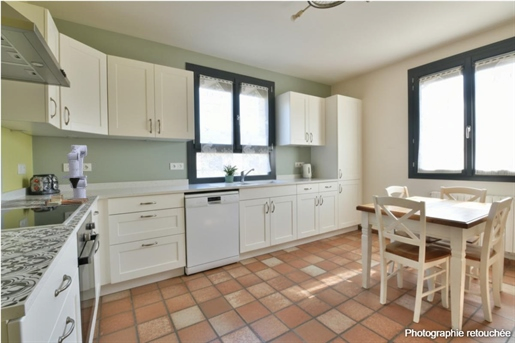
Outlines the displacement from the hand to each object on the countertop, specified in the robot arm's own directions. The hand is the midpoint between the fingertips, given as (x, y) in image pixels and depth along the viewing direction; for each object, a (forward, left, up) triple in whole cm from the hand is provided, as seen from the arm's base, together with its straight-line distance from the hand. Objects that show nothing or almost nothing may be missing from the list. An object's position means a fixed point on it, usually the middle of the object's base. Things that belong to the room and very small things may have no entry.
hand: (75, 188), depth 167 cm
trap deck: (+1, -4, -10) cm, 11 cm away
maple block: (+1, -10, -8) cm, 13 cm away
